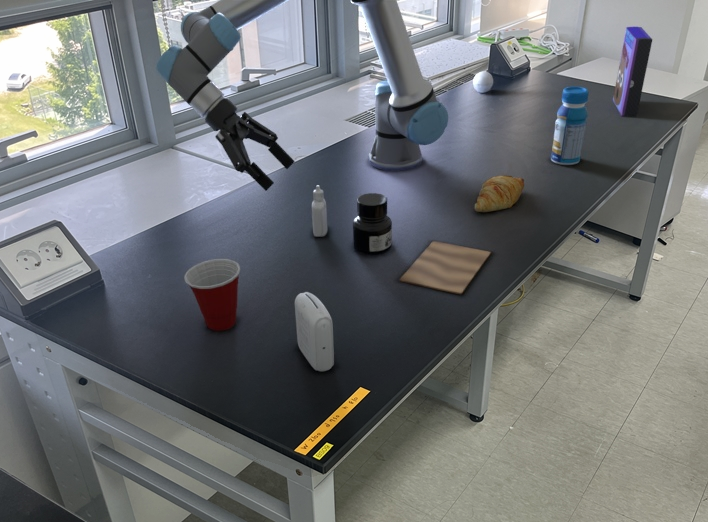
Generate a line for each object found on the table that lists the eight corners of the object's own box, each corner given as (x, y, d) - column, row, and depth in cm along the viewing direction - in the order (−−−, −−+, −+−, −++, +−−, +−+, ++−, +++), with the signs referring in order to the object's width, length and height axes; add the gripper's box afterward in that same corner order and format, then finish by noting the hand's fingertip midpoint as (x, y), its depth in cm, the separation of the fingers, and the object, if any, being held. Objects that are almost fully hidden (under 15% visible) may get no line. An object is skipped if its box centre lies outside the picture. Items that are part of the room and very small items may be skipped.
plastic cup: (195, 311, 149) (185, 259, 142) (247, 307, 150) (241, 255, 143) (190, 340, 140) (180, 287, 133) (246, 336, 141) (239, 282, 134)
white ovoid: (468, 93, 265) (470, 72, 261) (477, 88, 270) (478, 68, 265) (494, 97, 260) (496, 76, 256) (502, 92, 265) (504, 71, 261)
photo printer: (337, 368, 131) (335, 310, 124) (315, 374, 130) (312, 316, 123) (315, 339, 139) (312, 283, 132) (295, 345, 138) (290, 289, 131)
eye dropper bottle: (334, 230, 177) (332, 183, 170) (320, 239, 174) (318, 191, 167) (320, 226, 179) (317, 179, 172) (306, 234, 176) (303, 188, 169)
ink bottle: (378, 260, 164) (378, 211, 157) (345, 251, 168) (344, 203, 161) (399, 242, 171) (399, 195, 164) (366, 234, 175) (366, 187, 168)
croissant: (484, 230, 182) (500, 208, 175) (456, 204, 184) (470, 181, 177) (527, 201, 194) (543, 179, 188) (500, 177, 196) (514, 154, 190)
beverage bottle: (573, 168, 204) (585, 95, 192) (545, 162, 208) (554, 91, 197) (584, 158, 209) (597, 87, 198) (557, 153, 214) (567, 83, 202)
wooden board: (433, 242, 170) (433, 240, 170) (490, 253, 165) (491, 251, 165) (399, 281, 156) (399, 279, 156) (461, 294, 151) (461, 293, 150)
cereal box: (612, 100, 252) (626, 26, 238) (627, 100, 252) (641, 26, 238) (621, 116, 238) (636, 38, 224) (636, 116, 238) (652, 38, 224)
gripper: (228, 102, 178) (289, 166, 183) (180, 136, 159) (250, 206, 164) (245, 81, 173) (308, 147, 178) (199, 113, 154) (270, 186, 159)
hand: (280, 176), depth 171 cm, fingers open, 13 cm apart
